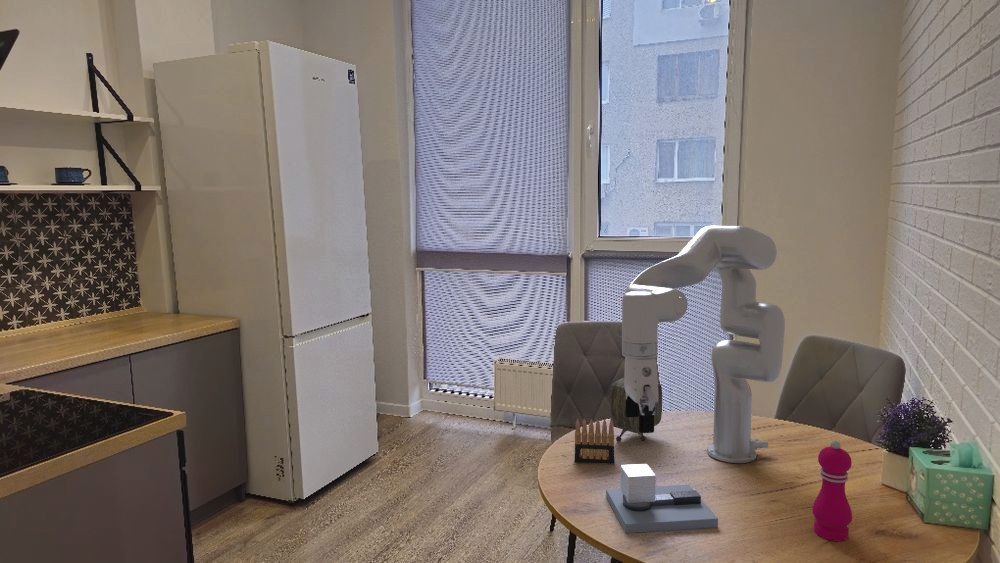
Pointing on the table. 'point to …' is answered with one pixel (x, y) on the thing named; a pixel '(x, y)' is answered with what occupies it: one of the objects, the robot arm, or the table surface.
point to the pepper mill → (833, 494)
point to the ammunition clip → (593, 451)
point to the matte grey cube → (638, 483)
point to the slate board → (662, 513)
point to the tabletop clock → (619, 410)
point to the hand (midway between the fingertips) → (639, 424)
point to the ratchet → (666, 500)
